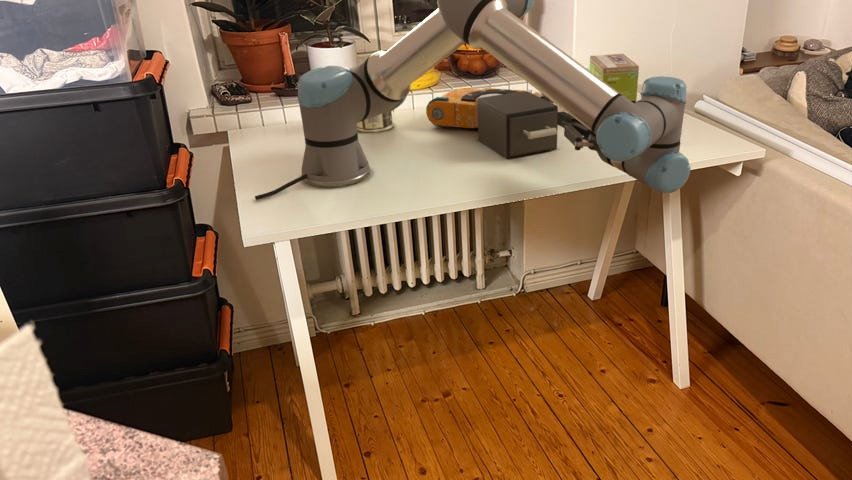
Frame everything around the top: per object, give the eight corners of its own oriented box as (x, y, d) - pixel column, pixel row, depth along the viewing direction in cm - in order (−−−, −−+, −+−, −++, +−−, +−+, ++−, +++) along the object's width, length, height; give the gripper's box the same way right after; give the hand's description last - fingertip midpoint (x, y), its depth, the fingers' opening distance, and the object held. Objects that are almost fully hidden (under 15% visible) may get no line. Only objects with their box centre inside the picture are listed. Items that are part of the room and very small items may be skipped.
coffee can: (382, 118, 197) (377, 68, 190) (399, 127, 190) (395, 75, 183) (348, 125, 192) (342, 73, 185) (365, 135, 185) (359, 81, 178)
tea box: (586, 106, 204) (589, 54, 196) (620, 104, 204) (624, 52, 197) (600, 121, 191) (603, 66, 183) (636, 119, 191) (640, 64, 184)
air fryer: (556, 149, 172) (557, 105, 167) (506, 158, 167) (506, 114, 162) (525, 131, 184) (525, 90, 179) (478, 139, 179) (477, 98, 174)
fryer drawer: (566, 152, 167) (567, 116, 162) (519, 161, 162) (520, 124, 158) (527, 130, 182) (528, 97, 177) (484, 138, 177) (483, 103, 173)
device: (453, 77, 203) (553, 84, 194) (454, 106, 207) (553, 113, 198) (422, 98, 185) (531, 106, 175) (424, 128, 189) (531, 138, 179)
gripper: (594, 174, 134) (534, 138, 153) (649, 162, 139) (584, 129, 158) (597, 136, 131) (534, 105, 149) (653, 126, 135) (586, 96, 154)
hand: (560, 117), depth 153 cm, fingers closed
